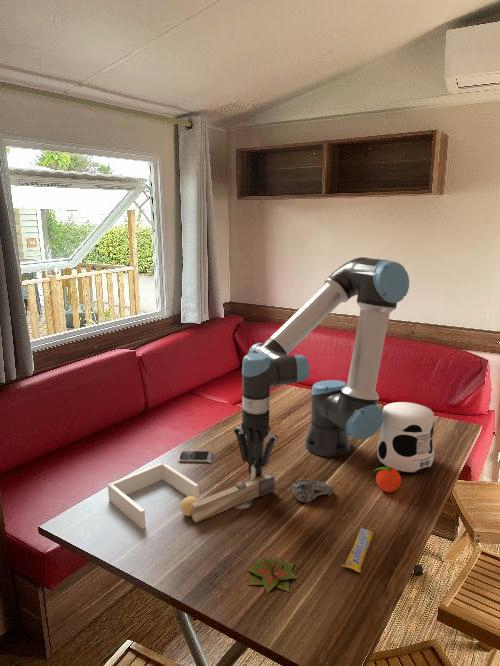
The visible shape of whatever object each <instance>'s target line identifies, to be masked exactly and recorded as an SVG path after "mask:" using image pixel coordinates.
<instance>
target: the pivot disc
mask: <svg viewBox="0 0 500 666" xmlns="http://www.w3.org/2000/svg"><path fill="white" fill-rule="evenodd" d="M252 505H253V499H251V500H248V501H246V502H244V503H241V504H239V505H237V506H234V507H233V508H234V509H235V510H236V509H237V510H246V509H249V508H251V506H252Z"/></svg>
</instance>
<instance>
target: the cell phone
mask: <svg viewBox="0 0 500 666" xmlns="http://www.w3.org/2000/svg"><path fill="white" fill-rule="evenodd" d="M213 459H214V452H213V451H212V450H211V451H207V450H206V451H205V450H202V451H201V450H199V451H197V450H195V451H193V450H191V451H190V450H189V451H188V450H184V451H183V450H182V451H181V452H180V453H179V456H178V462H179V463H182V464H183V463H187V464H188V463H189V464H190V463H194V464H199V463H200V464H205V463H206V464H210V463H212V462H213Z"/></svg>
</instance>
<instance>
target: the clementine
mask: <svg viewBox="0 0 500 666" xmlns="http://www.w3.org/2000/svg"><path fill="white" fill-rule="evenodd" d="M375 471H377V473H376V476H375V480H376V481H375V482H376V484H377V487H379V488H380V489H381V490H382V491H383V492H386V493H392V492H395V491H397V490H398V489H399V488H400V487H401V484H402V477H401V475H400V472H398V471H397V470H395V469H394V468H392V467H386V466H380V467H378V468H375V469H374V471H373V472H375Z"/></svg>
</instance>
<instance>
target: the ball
mask: <svg viewBox="0 0 500 666" xmlns="http://www.w3.org/2000/svg"><path fill="white" fill-rule="evenodd" d="M197 501H198V499H197V498H195V497H193V496H188V497H187V496H186V497H184V498H183V499H182V501H181V503H180V510H181V512H182V513H183V515H185V516H187V517H192V506H191V504H192V503H194V502H197Z"/></svg>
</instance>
